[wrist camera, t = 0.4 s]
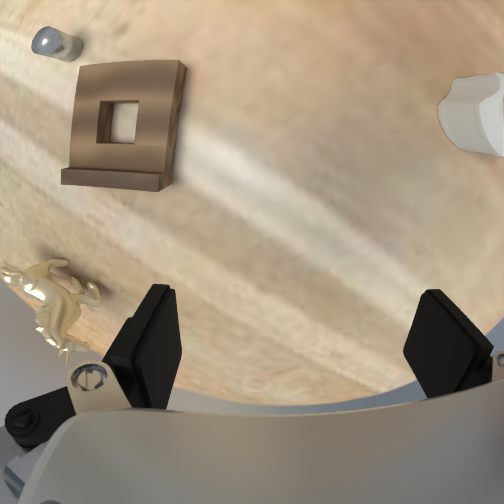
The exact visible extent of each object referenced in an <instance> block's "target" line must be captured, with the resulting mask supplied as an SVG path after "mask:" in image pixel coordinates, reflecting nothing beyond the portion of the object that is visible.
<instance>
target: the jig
mask: <svg viewBox="0 0 504 504" xmlns="http://www.w3.org/2000/svg"><path fill="white" fill-rule="evenodd" d="M185 72H186V66H185V65H183V64H182V63H181V62H180V61H179V60H144V61H125V62H112V63H101V64H92V65H85V66H80V69H79V75H78V81H77V87H76V94H75V102H74V110H73V119H72V130H71V143H70V162H69V167H68V168H64V169H61V184H62V185H78V186H93V187H106V188H119V189H130V190H141V191H152V192H159V191H160V190H162V189H164V188H165V187H167V186H169V185H171V183H172V172H173V161H174V151H175V142H176V134H177V126H178V118H179V111H180V103H181V97H182V90H183V84H184V78H185ZM114 103H139V107H138V115H137V124H136V133H135V143H117V142H109V141H110V130H111V121H112V112H113V104H114Z"/></svg>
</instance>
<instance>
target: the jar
mask: <svg viewBox="0 0 504 504" xmlns="http://www.w3.org/2000/svg"><path fill="white" fill-rule="evenodd" d="M437 108H438V116H439V121H440V124H441V126H442V129H443V131H444V133H445V134H446V136H447V137H448V139H449V140H450V141H451V142H452V143H453V144H454V145H455V146H457V147H458V148H460V149H463V150H467V151H476V152H482V153H487V154H492V155H497V156H500V157H503V158H504V74H501V73H491V74H488V75H481V76H474V77H468V78H458V79H454V81H453V82H452V85H451V89H450V91H449V93H448V95H447V96H446V97H445V98H444V99H443V100H442V101H441V102H440V103H439V104H438V106H437Z"/></svg>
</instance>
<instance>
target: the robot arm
mask: <svg viewBox="0 0 504 504" xmlns="http://www.w3.org/2000/svg"><path fill="white" fill-rule="evenodd" d="M493 348H494V346H493V345H492V344H491V343H490V341H489V340H488V339H487V338H486V337H485V336H484V335H483V334H482V332H481V331H480V330H479V329H478V328H477V327H476V326H475V325H474V324H473V323H472V322H471V321H470V319H469V318H468V317H467V316H466V315H465V314H464V313H463V312H462V311H461V310H460V309H459V308H458V307H457V306H456V305H455V304H454V303H453V302H452V301H451V300H450V299H449V298H448V297H447V296H446V295H445V294H444V293H443V292H442V291H441V290H440V289H427V290H426V291H425V292H424V293H423V294H422V295H421V297H420V301H419V304H418V307H417V311H416V314H415V317H414V320H413V323H412V326H411V329H410V331H409V334H408V337H407V340H406V343H405V345H404V349H403V353H404V356H405V358H406V360H407V362H408V363H409V365H410V367H411V369H412V371H413V372H414V374H415V376H416V378H417V380H418V381H419V383H420V385H421V387H422V389H423V391H424V392H425V394H426V396H427V398H428V399H424V400H419V401H413V402H408V403H402V404H397V405H390V406H384V407H377V408H369V409H361V410H352V411H343V412H331V413H315V414H294V415H241V414H239V415H238V414H217V413H202V412H188V411H187V412H186V411H175V410H166V408H167V404H168V400H169V397H170V394H171V390H172V387H173V383H174V380H175V377H176V373H177V370H178V366H179V363H180V360H181V355H182V347H181V339H180V331H179V322H178V313H177V304H176V294H175V290H174V289H170V286H169V285H165V284H153V285H152V286H151V288H150V289H149V291H148V293H147V294H146V296H145V297H144V299H143V301H142V302H141V304H140V306H139V307H138V309H137V310H136V312H135V314H134V315H133V317H130V318H128V319H127V320H126V322H125V323H124V325H123V326H122V328H121V330H120V331H119V333H118V335H117V336H116V338H115V340H114V341H113V343H112V345H111V346H110V348H109V350H108V351H107V353H106V355H105V356H104V358H103V360H102V362H100V361H95V360H89V361H85V362H81V363H79V364H77V365H76V366H74V367H73V368H71V370H70V371H69V372H68V374H67V378H66V384H67V386H66V387H63V388H60V389H58V390H55V391H52V392H50V393H47V394H44V395H41V396H38V397H36V398H33V399H30V400H27V401H24V402H21V403H19V404H17V405H15V406H13V407H12V408H11V409H10V410H9V411H8V413H7V415H6V418H5V425H4V426H2V427H0V504H504V351H499V352H496V353H495V354H494V355H493V357H491V356H490V354H491V352H492V350H493Z"/></svg>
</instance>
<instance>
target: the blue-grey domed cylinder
mask: <svg viewBox="0 0 504 504" xmlns="http://www.w3.org/2000/svg"><path fill="white" fill-rule="evenodd" d="M31 48H32V51H33V52H34V53H36V54H40V55H44V56H48V57H51V58H55V59H59V60H62V61H66V62H72V61H74V60H75V59H77V58H78V56H79V55H80V54H81V52H82V49H83V43H82V41H81V40H80V39H78V38H76V37H74V36H71V35H69V34H67V33H64V32H62V31H59V30H57V29H55V28H52V27H49V26H47V27H44V28H42V29H41V30H39V31H38V32H37V34H36V35H35V37H34V39H33V41H32V46H31Z"/></svg>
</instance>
